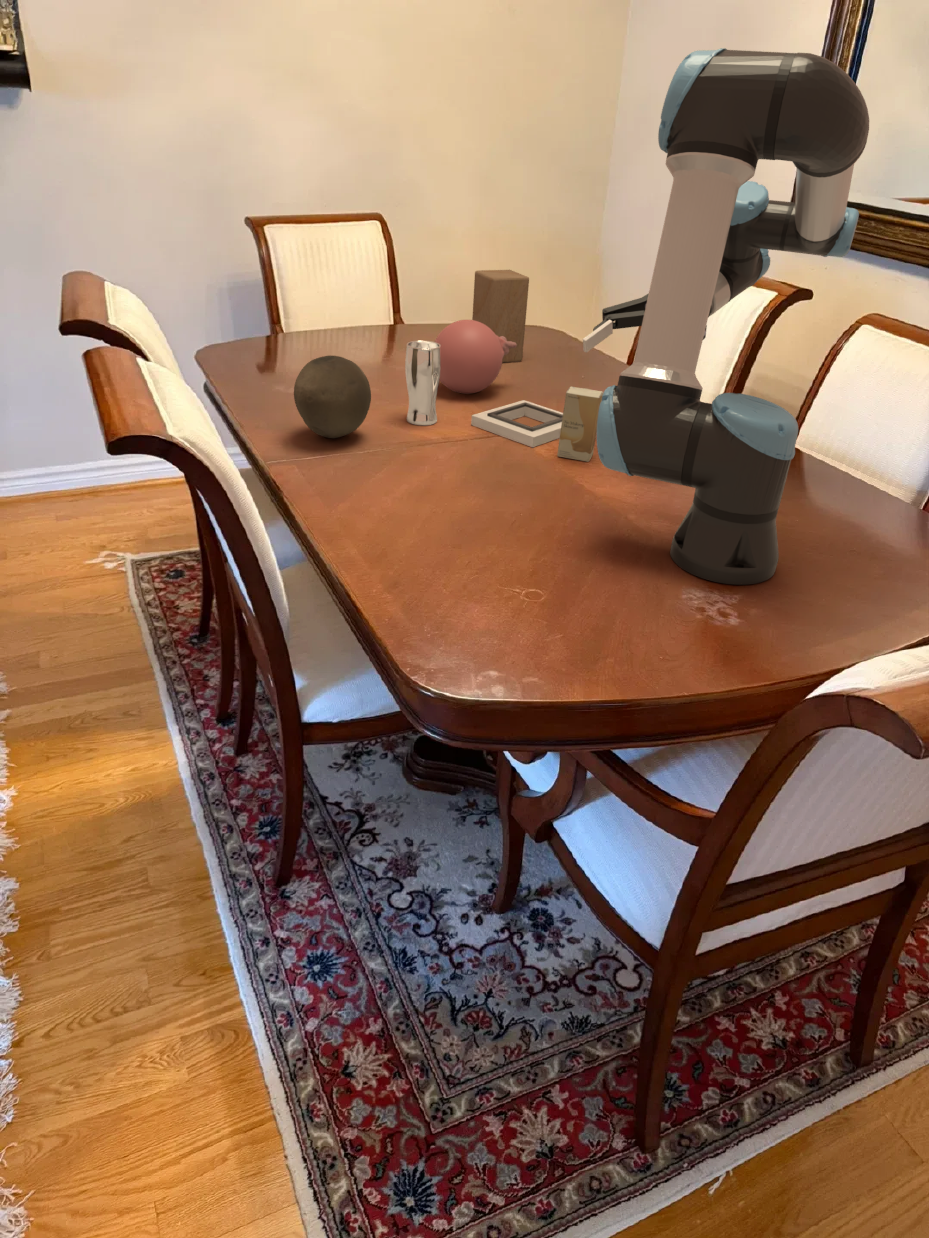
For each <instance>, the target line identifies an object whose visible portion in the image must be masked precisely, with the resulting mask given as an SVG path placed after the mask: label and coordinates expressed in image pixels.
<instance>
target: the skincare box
mask: <svg viewBox="0 0 929 1238" xmlns="http://www.w3.org/2000/svg"><path fill="white" fill-rule="evenodd" d="M603 393H604V391H602V390H594V389H591V388H586V387H585V388H584V387H578V386H577V387H575V386H569V388H568V389H567V390H566V393H565V396H564V397H565V399H564V404H563V411H562V413H563V418H562V425H561V432H560V438H558V439H559V440H558V447H557V455H556V456H557V457H559V458H566V459H571V460H576V461H577V460H578V461H581V462H590V460H591V459H592V456H593V455H594V449H595V444H596V440H597V419H598V411H599V406H600V403H601V401H602V396H603Z"/></svg>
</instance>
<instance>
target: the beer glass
mask: <svg viewBox="0 0 929 1238" xmlns="http://www.w3.org/2000/svg"><path fill="white" fill-rule="evenodd" d="M405 350H406V351H405V361H404V362H405V363H404V364H405V366H404V368H405V369H404V371H405V381H406V387H407V388H406V389H407V393H408V394H407V395H408V409H407V414H406V415H407V416H406V421H407V422H408V423H409V424H411V425H416V426H432V425H434V424H436V423H437V421H438V415H437V411H436V409H437V408H436V402H437V395H438V391H439V385H440V382H441V381H440V375H441V345H440V344H439V343H436V342H435V341H431V340H423V339H422V340H420V339H419V340H412V341H409V342H407V343H406V348H405Z"/></svg>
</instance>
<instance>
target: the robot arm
mask: <svg viewBox="0 0 929 1238" xmlns="http://www.w3.org/2000/svg"><path fill="white" fill-rule="evenodd" d="M855 82H856V81H854V80H853V79H852V77H850V75H849V74H848V73H847V72H846V71H844V69H842V68H841V67H840V66H839V65H837V63H835V62H833V61H831V60H829V59H828V58H826V57H824V56H821V55H817V54H814V53H810V52H778V51H761V50H759V51H758V50H738V49H727V48H725V47H724V48H719V49H711V50H710V49H708V50H705V49H704V50H703V49H702V50H700V49H698V50H694V51H692V52H690V53H689V54H688V55H687V56H685V57H684V58H683V60H682V61H681V63H679V65H678V67H677V68H676V71H675V72H674V74H673V76H672V78H671V80H670V83H669V86H668V89H667V90H666V95H665V98H664V101H663V105H662V109H661V113H660V124H659V127H658V133H657V134H658V136H657V137H658V138H657V139H658V145H659V149H660V150H661V151H662V152H664V153H665V154H666V160H665V166H666V168H667V169H668V171H669V173H670V174H671V176H672V178H673V181H672V185H671V189H670V195H669V199H668V204H667V209H666V213H665V217H664V222H663V227H662V232H661V237H660V240H659V245H658V250H657V254H656V258H655V263H654V267H653V271H652V272H653V273H652V277H651V282H650V286H649V291H648V293H647V294H645V295H643V296H642V297H638V298H634V299H631V300H629V301H625V302H622V303H618V304H615V305H612V306H608V307H605V308H603V309H601V310H602V312H601V314H602V315H601V316H602V321H601V322H599V323H598V324H597V325H595V326H594V327H593V330H592V332H590V333H589V334H588V335H586V336H585V337H583V338H582V348H583V352H584V353H588V352H589V351H591V350H592V349H594V348H595V347H596V346H598V345H599V344H600V343H601V342H603V341H604V340H606V339H607V338H608V337H610V336H611V335H612V334H614V332H613V331H614V330H620V329H629V328H637V327H641V328H640V330H639V331H640V332H639V336H638V341H637V345H636V350H635V354H634V359H633V362H632V364H631V365H629V366H628V367H627V368H626V369H624V370H623V371H621V372H620V373H619V376H618V380H617V385H615V384H613V385H610V386H607V387H606V388H605V389H604V391H603V396H602V401H601V403H600V406H599V411H598V419H597V432H596V449H597V455H598V458H599V461H600V462H601V464H602V465H603V466H604V467H605V468H606V469H608V470H610V471H611V470H612V471H614V472H618V473H621V474H626V475H627V476H629V477H632V476H635V477H641V478H646V479H650V480H655V481H659V482H664V483H669V484H674V485H680V486H685V487H690V488H695V491H694V495H693V500H692V503H691V506H690V508H689V509H688V511H687V513H686V515H685V516H684V518H683V520H682V521H681V523H680V524H679V526H678V528H677V530H676V531H675V533H674V535H673V538H672V542H671V546H670V550H669V554H670V558H671V560H672V561H673V562H674V563H675V564H676V565H677V566H678V567H680V568H681V569H682V570H684V571H685V572H687V573H689V574H690V575H693V576H695V577H698V578H700V579H703V580H707V581H711V582H713V583H714V582H715V583H718V584H719V583H720V584H725V585H733V586H734V585H738V586H741V585H742V586H743V585H754V584H760V583H763V582H766V581H768V580H769V579H771V578H772V577H773V576H774V574H775V573H776V569H777V566H778V561H779V554H780V553H779V543H778V534H777V533H778V531H777V522H776V521H777V516H778V514H779V513H778V512H779V509H780V507H781V506H780V505H781V500H782V499H783V498H782V497H783V493H784V489H785V485H786V481H787V478H788V473H789V470H790V466H791V462H792V460H793V459H794V457H795V455H796V444H797V439H798V433H799V424H798V422H797V419H796V417H794V415H793V414H792V413H790V412H789V411H788V410H786V409H785V408H784V407H782V406H780V405H778V404H776V403H775V402H772V401H770V400H768V399H764V398H760V397H757V396H754V395H750V394H745V393H735V392H723V393H720V394H718V395H717V396H715V398H714V399H713V400H712V401H711V402H712V403H710V402H709V403H708V402H704V401H701V397H702V393H703V387H702V384H701V383H700V381H699V380H698V378H697V375H696V371H697V370H696V369H697V365H698V361H699V356H700V353H701V349H702V345H703V341H704V340H705V339H706V338H707V337H706V335H707V326H708V320H709V317H711V316H713V315H714V314H715V313H716V312H718V311H719V310H720V309H722V308H723V307H724V306H725V305H727V304H728V303H729V302H731V301H732V300H733V299H735V298H736V297H737V296H739V295H740V294H741V293H743V292H745V291H746V290H747V289H749V288H750V287H752V286H754V285H755V284H756V283H757V282H758V281H759V280H760V279H761V278H763V276H764V275H765V274H766V273H767V272H768V271H769V268H770V266H771V257H770V255H769V251H770V250H772V251H778V252H780V251H781V252H788V253H795V254H805V255H812V256H820V257H824V258H827V257H835V258H836V257H837V258H838V257H839V258H841V257H842V258H843V257H845V256H846V255H848V254H849V252H850V250H851V246H852V242H853V239H854V236H855V233H856V229H857V225H858V221H859V218H860V217H859V216H860V213H859V210H858V209H856V208H853V207H848V200H849V195H850V190H851V184H852V178H853V173H854V168H855V164H856V162H857V161H859V159H860V158H861V156H862V155H863V153H864V150H865V148H866V145H867V141H868V136H869V131H870V117H869V116H870V114H869V110H868V107H867V103H866V99H865V98H864V96H863V94H862V91H861V90H860V88H859V87H858V85H857V84H856V83H855ZM759 160H765V161H767V160H769V161H775V160H776V161H786V162H792V163H793V165H794V167H796V171H795V172H796V175H795V177H796V178H795V200H794V202H793V201H785V200H784V201H783V200H773V199H770V197H769V191H768V189H767V188H766V186H765V185H763V184H759V183H758V182H756V181H753V180H751V179H752V178H754V176H755V174H756V170H757V164H758V161H759ZM749 180H750V181H749Z"/></svg>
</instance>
